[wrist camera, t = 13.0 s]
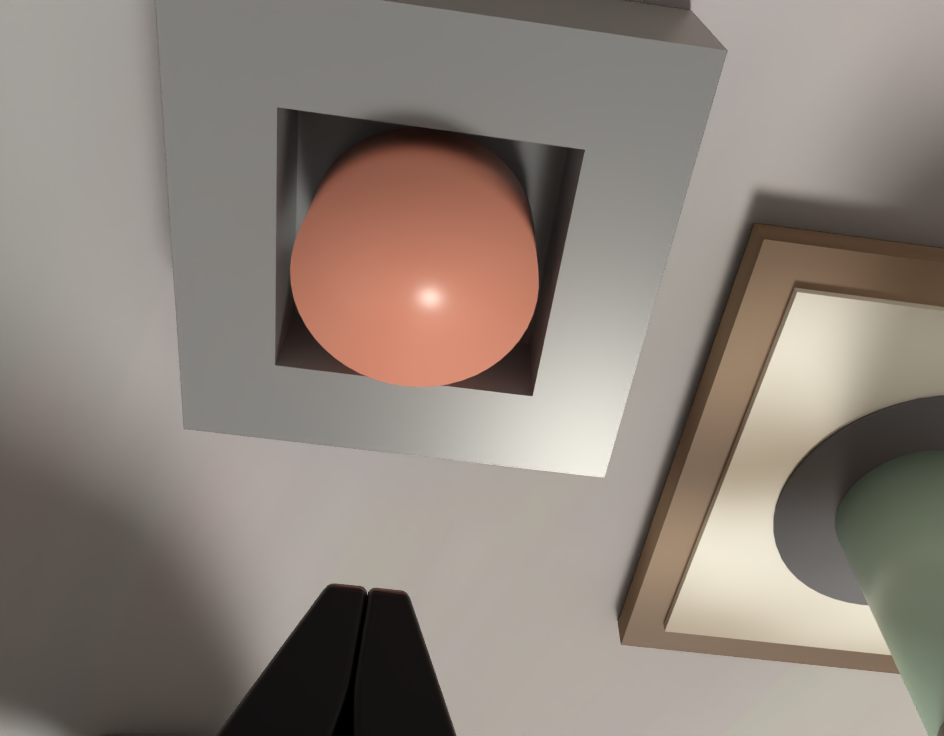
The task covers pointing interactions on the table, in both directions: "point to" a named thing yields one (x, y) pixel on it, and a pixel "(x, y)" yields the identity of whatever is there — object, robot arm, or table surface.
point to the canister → (903, 568)
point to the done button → (417, 258)
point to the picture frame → (792, 450)
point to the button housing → (444, 108)
